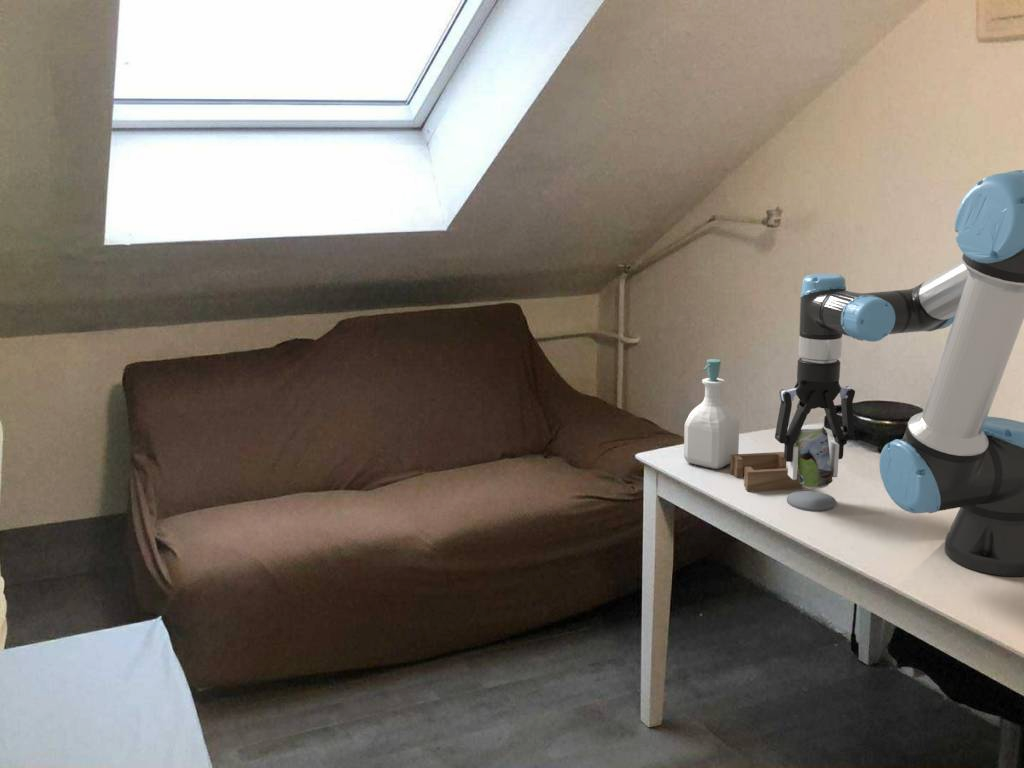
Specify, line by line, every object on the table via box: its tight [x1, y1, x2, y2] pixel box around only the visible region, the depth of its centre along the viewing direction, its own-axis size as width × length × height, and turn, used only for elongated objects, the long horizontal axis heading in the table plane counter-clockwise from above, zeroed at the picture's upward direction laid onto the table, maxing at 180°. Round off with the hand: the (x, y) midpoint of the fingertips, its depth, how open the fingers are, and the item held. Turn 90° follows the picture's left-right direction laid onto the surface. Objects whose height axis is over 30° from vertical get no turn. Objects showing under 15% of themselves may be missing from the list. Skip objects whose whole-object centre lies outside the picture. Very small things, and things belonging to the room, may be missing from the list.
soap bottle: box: [683, 358, 740, 470], centre depth 205 cm, size 10×10×23 cm
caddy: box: [729, 451, 803, 492], centre depth 195 cm, size 11×11×4 cm
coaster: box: [786, 490, 837, 512], centre depth 184 cm, size 9×9×1 cm
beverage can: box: [795, 423, 834, 490], centre depth 181 cm, size 6×7×12 cm
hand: (812, 475), depth 182 cm, fingers closed on beverage can, 7 cm apart
